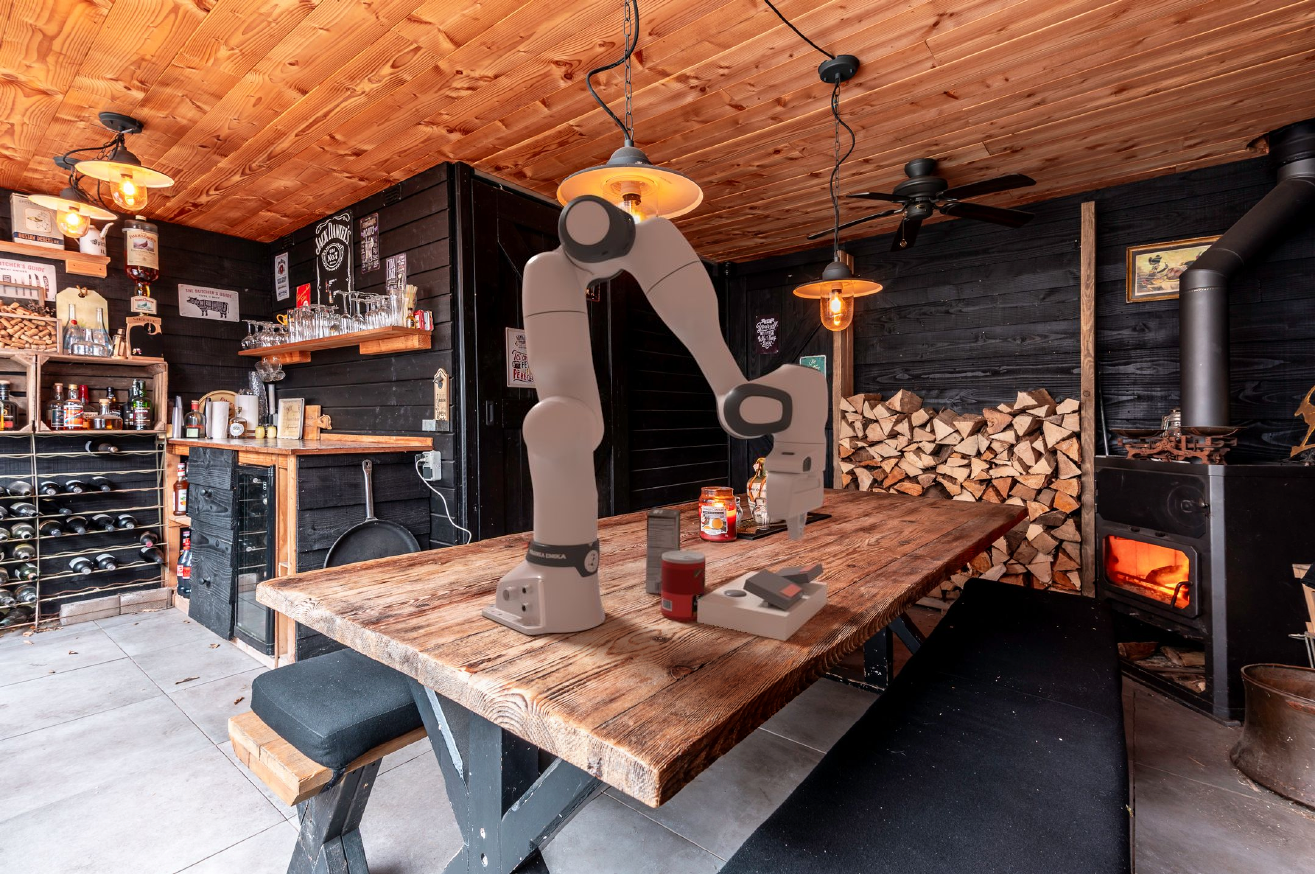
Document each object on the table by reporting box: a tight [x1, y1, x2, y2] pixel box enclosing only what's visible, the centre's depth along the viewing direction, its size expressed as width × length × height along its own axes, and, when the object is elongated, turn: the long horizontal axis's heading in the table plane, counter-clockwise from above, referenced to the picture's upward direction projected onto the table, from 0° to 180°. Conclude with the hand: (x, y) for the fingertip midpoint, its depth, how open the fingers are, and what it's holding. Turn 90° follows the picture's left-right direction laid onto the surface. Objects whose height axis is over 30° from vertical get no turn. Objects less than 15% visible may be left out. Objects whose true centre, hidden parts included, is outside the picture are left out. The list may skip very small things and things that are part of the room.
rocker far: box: [774, 562, 824, 584], centre depth 116 cm, size 8×9×2 cm
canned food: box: [660, 550, 707, 622], centre depth 110 cm, size 8×8×11 cm
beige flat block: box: [696, 570, 828, 642], centre depth 112 cm, size 16×24×5 cm, turn 149°
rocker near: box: [743, 568, 806, 610], centre depth 106 cm, size 8×9×2 cm
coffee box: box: [645, 507, 682, 595], centre depth 127 cm, size 9×6×16 cm
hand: (795, 538), depth 105 cm, fingers closed
